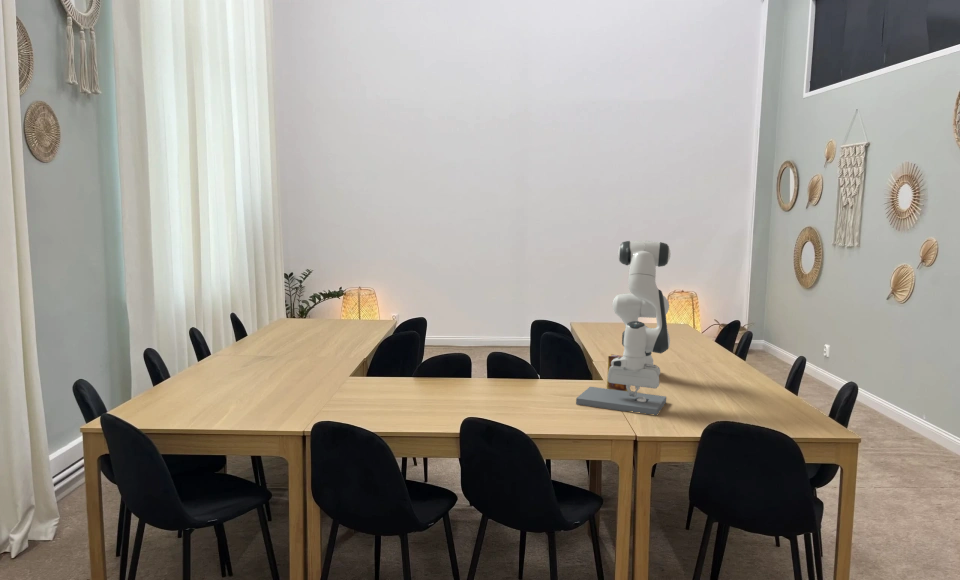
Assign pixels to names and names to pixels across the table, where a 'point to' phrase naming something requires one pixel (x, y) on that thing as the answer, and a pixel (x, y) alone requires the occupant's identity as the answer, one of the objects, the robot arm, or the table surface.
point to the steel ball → (641, 399)
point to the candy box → (613, 385)
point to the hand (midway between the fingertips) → (632, 396)
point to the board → (620, 400)
